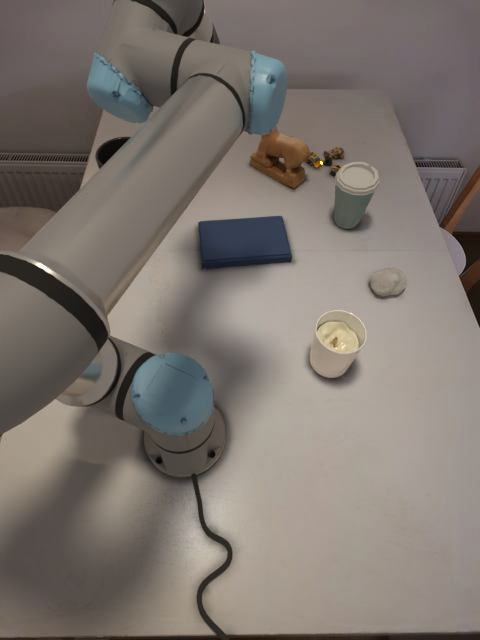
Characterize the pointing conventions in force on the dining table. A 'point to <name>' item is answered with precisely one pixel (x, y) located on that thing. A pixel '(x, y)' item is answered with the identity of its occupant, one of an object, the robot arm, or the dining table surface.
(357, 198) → the disposable coffee cup
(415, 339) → the dining table surface
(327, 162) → the toy set
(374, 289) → the pebble
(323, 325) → the candle holder
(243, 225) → the blue book
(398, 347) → the dining table surface
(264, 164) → the sculpture
